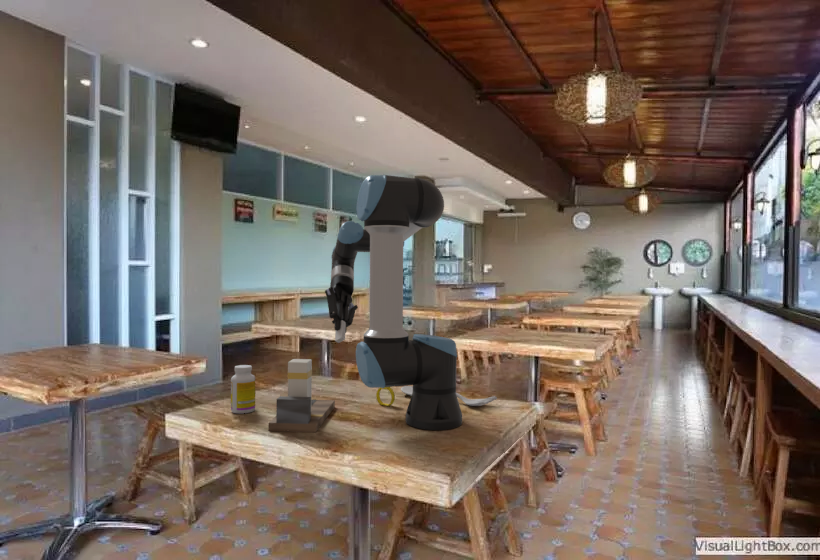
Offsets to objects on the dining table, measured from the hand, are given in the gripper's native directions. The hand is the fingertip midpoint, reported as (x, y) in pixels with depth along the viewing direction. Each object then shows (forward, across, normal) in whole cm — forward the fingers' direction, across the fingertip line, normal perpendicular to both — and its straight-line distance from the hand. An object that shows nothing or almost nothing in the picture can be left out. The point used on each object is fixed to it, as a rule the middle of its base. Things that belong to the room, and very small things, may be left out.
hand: (340, 340), depth 153 cm
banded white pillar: (+23, +6, -8) cm, 25 cm away
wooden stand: (+22, +2, -11) cm, 24 cm away
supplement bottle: (+16, +9, -28) cm, 34 cm away
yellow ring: (+13, -20, 0) cm, 24 cm away
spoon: (+10, -36, +12) cm, 39 cm away
